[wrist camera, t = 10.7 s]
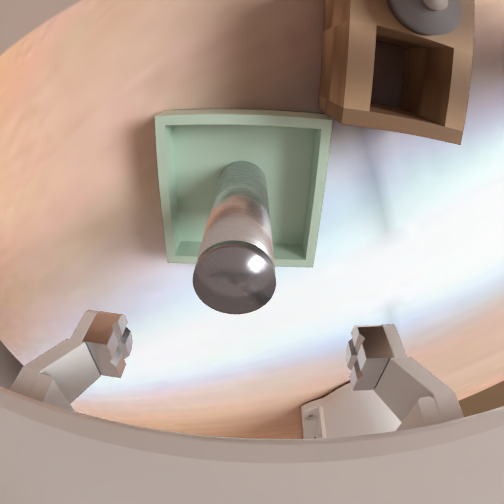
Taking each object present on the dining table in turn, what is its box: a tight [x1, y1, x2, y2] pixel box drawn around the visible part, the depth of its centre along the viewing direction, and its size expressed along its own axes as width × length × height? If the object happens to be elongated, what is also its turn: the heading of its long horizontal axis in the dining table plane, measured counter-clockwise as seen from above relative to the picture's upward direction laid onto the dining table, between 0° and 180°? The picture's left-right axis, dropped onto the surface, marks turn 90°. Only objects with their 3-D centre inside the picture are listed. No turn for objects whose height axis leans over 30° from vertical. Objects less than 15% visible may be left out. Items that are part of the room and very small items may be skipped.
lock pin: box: [193, 161, 276, 314], centre depth 17 cm, size 3×3×11 cm
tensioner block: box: [318, 0, 474, 145], centre depth 13 cm, size 9×7×8 cm
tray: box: [155, 109, 333, 267], centre depth 21 cm, size 10×10×2 cm
